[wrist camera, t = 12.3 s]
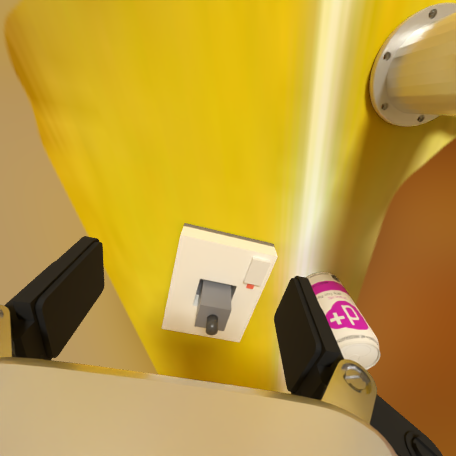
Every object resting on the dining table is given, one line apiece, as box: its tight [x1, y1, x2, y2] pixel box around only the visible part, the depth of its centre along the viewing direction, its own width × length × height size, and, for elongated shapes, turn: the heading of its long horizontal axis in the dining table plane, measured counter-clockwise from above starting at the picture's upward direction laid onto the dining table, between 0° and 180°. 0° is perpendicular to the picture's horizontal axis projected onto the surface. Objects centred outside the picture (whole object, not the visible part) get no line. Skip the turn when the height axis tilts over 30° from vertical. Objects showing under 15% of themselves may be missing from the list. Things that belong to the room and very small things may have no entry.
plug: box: [194, 279, 231, 335], centre depth 40 cm, size 5×5×10 cm
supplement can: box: [306, 272, 380, 370], centre depth 39 cm, size 8×8×15 cm
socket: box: [162, 223, 278, 342], centre depth 43 cm, size 16×22×5 cm
